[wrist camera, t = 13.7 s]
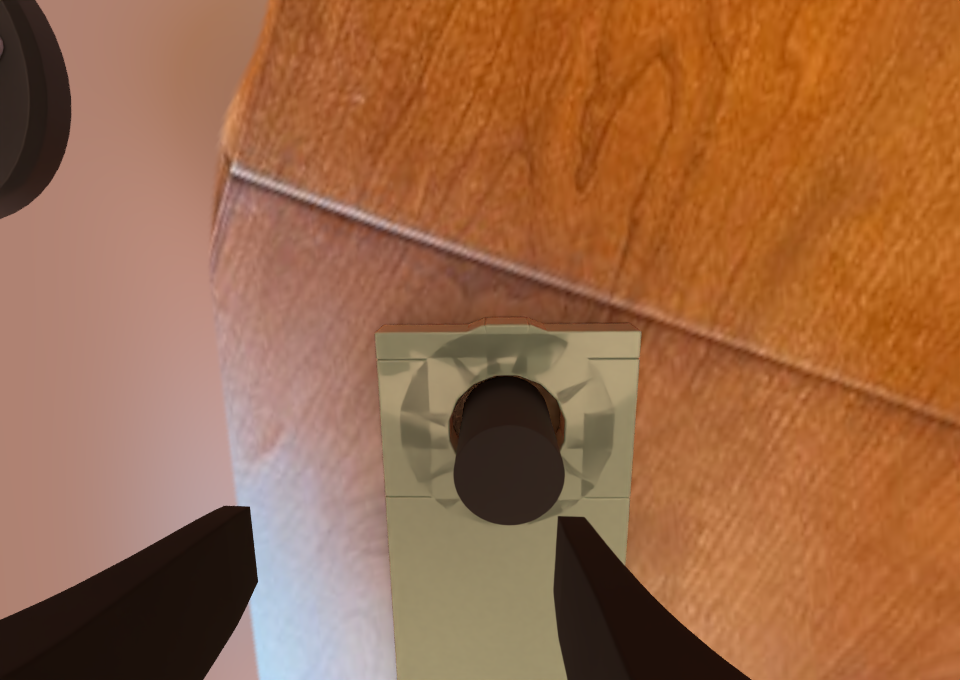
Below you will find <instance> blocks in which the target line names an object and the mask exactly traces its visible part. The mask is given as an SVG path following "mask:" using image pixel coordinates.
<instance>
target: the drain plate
mask: <svg viewBox="0 0 960 680" xmlns="http://www.w3.org/2000/svg"><path fill="white" fill-rule="evenodd" d="M641 333H642V332H641V331H640V330H639V329H637V328H636V327H635V326H633V325H632V324H630V323H586V324H543V323H541V322H538V321H536V320H533V319H531V318H526V317H487V318H482V319H480V320H477V321H475V322H473V323H470V324H426V325H383V326H382V327H381V328H380V329H379V330H377V331H376V332H375V348H376V358H377V359H378V360H377V376H378V391H379V407H380V422H381V437H382V453H383V468H384V483H385V495H386V497H385V501H386V516H387V531H388V547H389V562H390V577H391V592H392V608H393V623H394V638H395V653H396V669H397V680H567V676H566V671H565V666H564V662H563V657H562V653H561V648H560V643H559V638H558V631H557V623H556V614H555V604H554V595H553V586H554V570H555V554H556V538H557V521H558V516H575V517H585V518H586V519H587V520H588V521H589V523H590V524H591V525H592V526H593V528H594V529H595V530H596V531H597V533H598V534H599V535H600V536H601V538H602V539H603V540H604V541H605V543H606V544H607V545H608V546H609V547H610V549H611V550H612V551H613V552H614V554H615V555H616V556H617V557H618V558H619V559H620V561H621V562H622V563H623V564H624V565H625V566H626V552H627V537H628V523H629V508H630V493H631V479H632V464H633V450H634V435H635V421H636V406H637V392H638V377H639V363H640V360H639V357H640V348H641ZM494 376H520V377H523V378H525V379H528V380H530V381H533V382H535V383H538V384H540V385H541V386H542V387H543V388H545V389H546V390H547V391H548V392H549V393H550V394H551V395H552V396H553V397H554V398H555V399H556V400H557V403H558V405H559V408H560V424H559V429H558V431H557V433H556V435H555V436H556V439H557V443H558V446H559V450H560V453H561V457H562V460H563V464H564V469H565V480H564V486H563V489H562V492H561V494H560V496H559V498H558V500H557V501H556V503H555V504H554V505H553V507H552V508H551V509H550V510H549V511H548V512H546V513H545V514H544V515H542V516H541V517H539V518H537V519H535V520H533V521H531V522H528V523H524V524H519V525H499V524H494V523H491V522H488V521H486V520H483V519H481V518H480V517H478V516H476V515H475V514H474V513H472V512H471V511H470V510H469V509H468V508H467V507H466V506H465V505H464V503H463V502H462V501H461V499H460V497H459V496H458V494H457V491H456V488H455V484H454V477H453V472H454V464H455V458H456V452H457V446H458V440H459V438H458V436H457V434H456V432H455V430H454V428H453V410H454V408H455V406H456V403H457V401H458V399H459V398H460V397H461V396H462V395H463V394H464V393H465V392H466V391H468V390H469V389H470V388H471V387H472V386H473V385H474V384H476V383H479V382H481V381H484V380H486V379H489V378H491V377H494Z"/></svg>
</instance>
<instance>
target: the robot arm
mask: <svg viewBox="0 0 960 680" xmlns="http://www.w3.org/2000/svg"><path fill="white" fill-rule="evenodd" d="M3 48H4V46H3V41H2V39H1V37H0V57H1V55H2V52H3ZM257 583H258V577H257V568H256V559H255V549H254V540H253V531H252V522H251V513H250V507H245V506H223V507H221V508H219V509H216V510H214V511H212V512H211V513H208V514H206V515H205V516H203V517H201V518H199V519H197V520H195V521H193V522H192V523H190V524H188V525H186V526H184V527H183V528H181V529H179V530H177V531H175V532H174V533H172V534H170V535H168V536H167V537H165V538H163V539H161V540H159V541H158V542H156V543H154V544H152V545H150V546H149V547H147V548H145V549H143V550H141V551H140V552H138V553H136V554H134V555H132V556H131V557H129V558H127V559H125V560H123V561H121V562H119V563H117V564H116V565H113V566H111V567H110V568H108V569H106V570H104V571H102V572H100V573H98V574H96V575H94V576H92V577H90V578H89V579H87V580H85V581H83V582H81V583H79V584H77V585H75V586H73V587H71V588H69V589H67V590H65V591H63V592H61V593H59V594H57V595H54V596H52V597H50V598H48V599H46V600H44V601H42V602H39V603H37V604H35V605H33V606H30V607H29V608H26V609H24V610H22V611H19V612H17V613H15V614H13V615H10V616H8V617H6V618H4V619H1V620H0V680H203V679H204V678H205V676H206V674H207V673H208V671H209V670H210V668H211V666H212V665H213V664H214V662H215V660H216V659H217V657H218V656H219V654H220V652H221V651H222V649H223V648H224V646H225V644H226V643H227V641H228V640H229V638H230V636H231V635H232V633H233V631H234V630H235V628H236V626H237V625H238V623H239V621H240V619H241V617H242V615H243V612H244V611H245V608H246V607H247V604H248V602H249V600H250V598H251V596H252V594H253V591H254V589H255V587H256V585H257ZM553 595H554V604H555V614H556V623H557V631H558V638H559V643H560V648H561V653H562V657H563V662H564V666H565V671H566V676H567V680H751V679H750V678H748V677H747V676H746V675H744V674H743V673H742V672H740V671H739V670H738V669H736V668H735V667H734V666H732V665H731V664H730V663H728V662H727V661H726V660H724V659H723V658H722V657H721V656H719V655H718V654H717V653H716V652H714V651H713V650H712V649H711V648H709V647H708V646H707V645H706V644H705V643H703V642H702V641H701V640H700V639H699V638H698V637H697V636H695V635H694V634H693V633H692V632H691V631H690V630H688V629H687V628H686V627H685V626H684V625H683V624H681V623H680V622H679V621H678V620H677V619H676V618H675V617H674V616H673V615H672V614H671V613H669V612H668V611H667V610H666V609H665V608H664V607H663V606H662V605H661V604H660V603H659V602H658V601H657V600H656V599H655V598H654V597H653V596H652V595H651V594H650V593H649V592H648V591H647V589H646V588H645V587H644V586H643V585H642V584H641V583H640V582H639V581H638V580H637V579H636V578H635V576H634V575H633V574H632V573H631V572H630V571H629V570H628V569H627V567H626V566H625V565H624V564H623V563H622V562H621V561H620V559H619V558H618V557H617V556H616V555H615V554H614V552H613V551H612V550H611V549H610V547H609V546H608V545H607V544H606V543H605V541H604V540H603V539H602V538H601V536H600V535H599V534H598V533H597V531H596V530H595V529H594V528H593V526H592V525H591V524H590V523H589V521H588V520H587V519H586V518H585V517H575V516H558V521H557V538H556V554H555V570H554V586H553Z"/></svg>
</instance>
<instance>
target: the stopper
mask: <svg viewBox="0 0 960 680" xmlns="http://www.w3.org/2000/svg"><path fill="white" fill-rule="evenodd" d="M453 477H454V484H455V488H456V491H457V494H458V496H459V497H460V499H461V501H462V502H463V503H464V505H465V506H466V507H467V508H468V509H469V510H470V511H471V512H472V513H474V514H475V515H476V516H478V517H480V518H481V519H483V520H486V521H488V522H491V523H494V524H499V525H519V524H524V523H528V522H531V521H533V520H535V519H537V518H539V517H541V516H542V515H544V514H545V513H546V512H548V511H549V510H550V509H551V508H552V507H553V505H554V504H555V503H556V501H557V500H558V498H559V496H560V494H561V492H562V489H563V486H564V480H565V469H564V464H563V460H562V457H561V453H560V450H559V446H558V443H557V439H556V436H555V433H554V429H553V426H552V422H551V419H550V415H549V412H548V409H547V405H546V402H545V400H544V398H543V396H542V395H541V393H540V392H539V391H538V390H537V389H536V388H535V387H534V386H533V385H531V384H530V383H528V382H526V381H524V380H522V379H519V378H515V377H508V376H503V377H496V378H492V379H489V380H487V381H485V382H483V383H481V384H480V385H478V386H477V387H476V388H475V389H474V390H473V391H472V392H471V393H470V395H469V396H468V398H467V400H466V402H465V405H464V409H463V415H462V421H461V427H460V433H459V440H458V446H457V452H456V458H455V464H454V472H453Z"/></svg>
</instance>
